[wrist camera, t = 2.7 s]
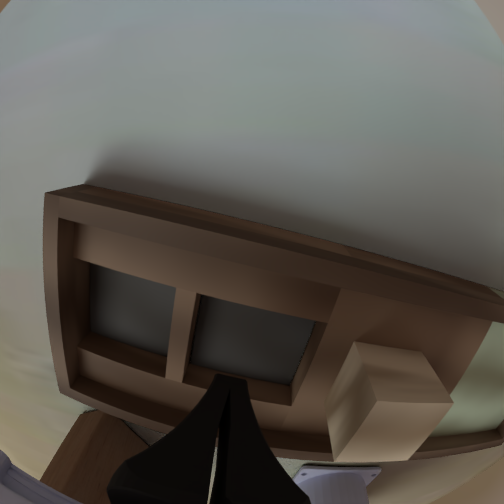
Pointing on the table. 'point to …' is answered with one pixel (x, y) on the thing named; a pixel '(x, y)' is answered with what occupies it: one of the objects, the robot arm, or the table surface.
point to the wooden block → (91, 457)
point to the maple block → (383, 404)
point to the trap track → (251, 320)
